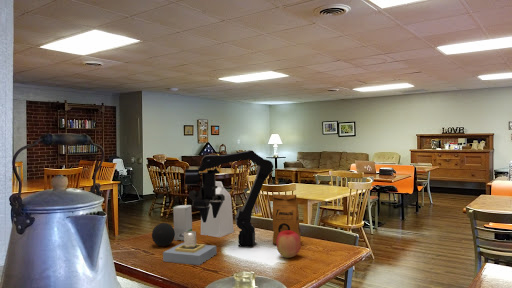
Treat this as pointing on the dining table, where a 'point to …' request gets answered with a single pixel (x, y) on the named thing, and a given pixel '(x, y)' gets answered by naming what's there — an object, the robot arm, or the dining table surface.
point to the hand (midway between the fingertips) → (209, 220)
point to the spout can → (189, 239)
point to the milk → (219, 216)
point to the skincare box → (182, 220)
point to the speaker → (163, 234)
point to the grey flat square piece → (189, 254)
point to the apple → (288, 243)
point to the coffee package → (285, 215)
